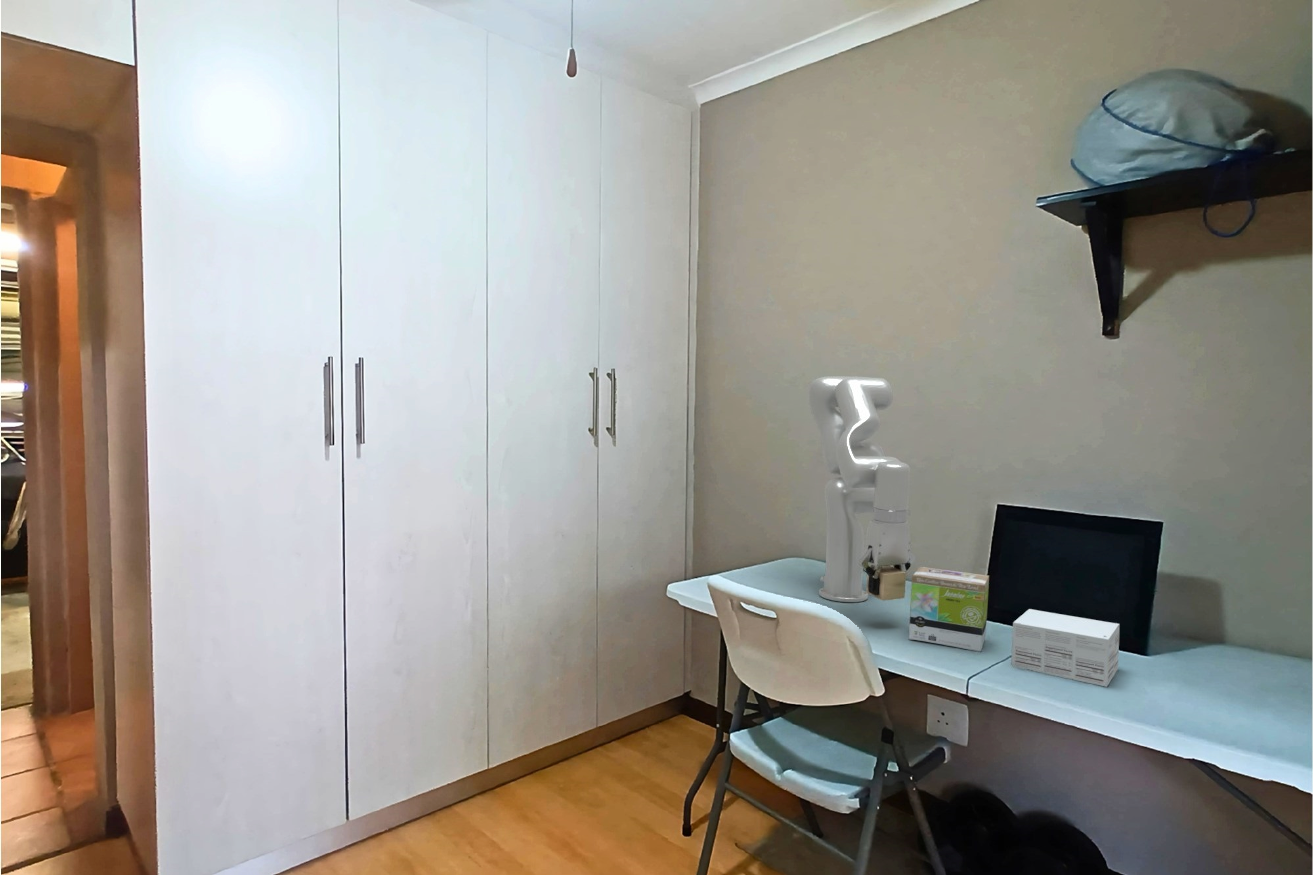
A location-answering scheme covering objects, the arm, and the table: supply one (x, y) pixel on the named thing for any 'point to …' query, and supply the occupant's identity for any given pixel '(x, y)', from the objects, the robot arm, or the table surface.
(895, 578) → the oak block
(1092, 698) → the table surface
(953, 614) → the tea box
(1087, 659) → the supplement box
